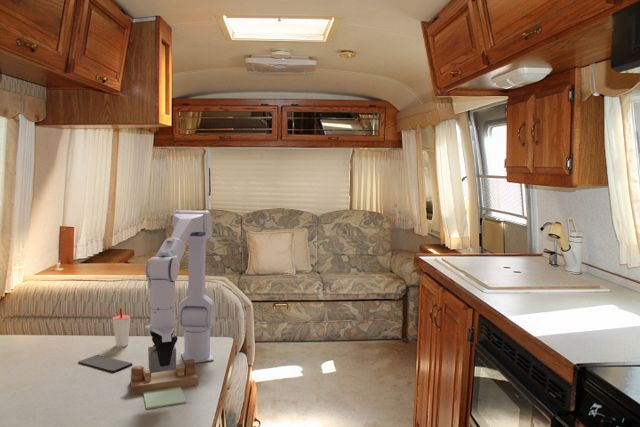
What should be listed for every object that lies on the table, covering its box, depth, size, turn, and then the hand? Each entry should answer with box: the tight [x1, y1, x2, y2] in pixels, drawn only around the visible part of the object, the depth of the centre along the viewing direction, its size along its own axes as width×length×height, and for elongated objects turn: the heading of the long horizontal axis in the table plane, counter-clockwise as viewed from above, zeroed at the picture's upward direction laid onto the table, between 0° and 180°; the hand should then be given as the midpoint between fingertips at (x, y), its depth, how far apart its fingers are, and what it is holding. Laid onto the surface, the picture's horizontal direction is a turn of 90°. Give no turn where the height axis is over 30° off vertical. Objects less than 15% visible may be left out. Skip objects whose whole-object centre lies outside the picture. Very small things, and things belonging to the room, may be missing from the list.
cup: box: [111, 307, 131, 348], centre depth 161 cm, size 5×5×12 cm
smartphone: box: [77, 354, 133, 374], centre depth 145 cm, size 7×1×15 cm
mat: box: [142, 387, 187, 410], centre depth 124 cm, size 9×9×1 cm
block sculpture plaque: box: [130, 359, 199, 395], centre depth 132 cm, size 8×16×5 cm, turn 113°
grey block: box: [147, 344, 177, 373], centre depth 123 cm, size 4×6×6 cm, turn 113°
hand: (163, 362), depth 123 cm, fingers closed on grey block, 4 cm apart
